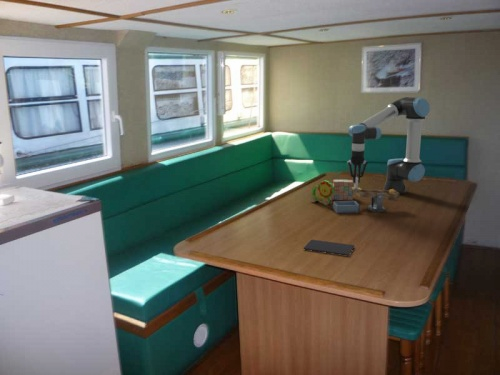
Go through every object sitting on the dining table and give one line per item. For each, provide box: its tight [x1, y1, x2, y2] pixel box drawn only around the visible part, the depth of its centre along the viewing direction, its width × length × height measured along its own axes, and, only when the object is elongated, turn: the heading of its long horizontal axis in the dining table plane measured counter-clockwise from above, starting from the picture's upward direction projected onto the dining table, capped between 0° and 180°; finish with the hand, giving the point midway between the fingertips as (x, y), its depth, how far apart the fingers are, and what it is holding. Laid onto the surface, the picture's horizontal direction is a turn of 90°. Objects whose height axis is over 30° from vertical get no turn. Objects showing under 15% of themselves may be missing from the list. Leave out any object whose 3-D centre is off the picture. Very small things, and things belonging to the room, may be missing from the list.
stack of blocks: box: [318, 179, 354, 201], centre depth 300 cm, size 21×6×12 cm, turn 85°
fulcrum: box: [367, 193, 387, 213], centre depth 274 cm, size 8×11×11 cm
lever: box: [352, 186, 401, 202], centre depth 278 cm, size 24×17×5 cm
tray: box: [332, 200, 361, 214], centre depth 273 cm, size 14×10×4 cm
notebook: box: [303, 239, 355, 257], centre depth 213 cm, size 13×2×21 cm
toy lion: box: [310, 179, 334, 206], centre depth 289 cm, size 16×5×15 cm, turn 47°
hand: (355, 187), depth 282 cm, fingers closed
